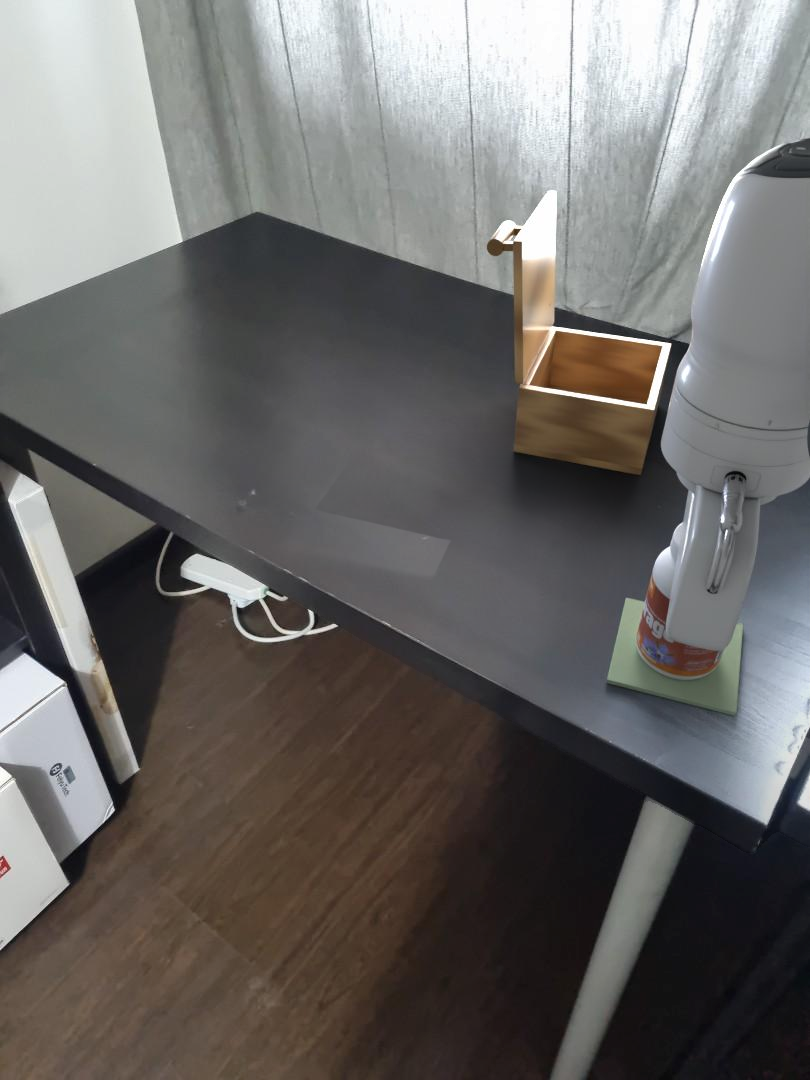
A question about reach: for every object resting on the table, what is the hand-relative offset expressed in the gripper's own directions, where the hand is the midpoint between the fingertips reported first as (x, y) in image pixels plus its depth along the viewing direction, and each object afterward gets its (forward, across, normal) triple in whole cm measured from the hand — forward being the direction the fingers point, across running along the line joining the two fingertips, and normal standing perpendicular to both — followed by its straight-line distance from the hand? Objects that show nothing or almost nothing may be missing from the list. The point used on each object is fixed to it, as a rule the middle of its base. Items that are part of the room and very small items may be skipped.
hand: (692, 597), depth 58 cm
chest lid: (-8, +29, +18) cm, 35 cm away
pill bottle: (+6, 0, 0) cm, 6 cm away
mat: (+6, 0, 0) cm, 6 cm away
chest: (+6, +29, +12) cm, 32 cm away
